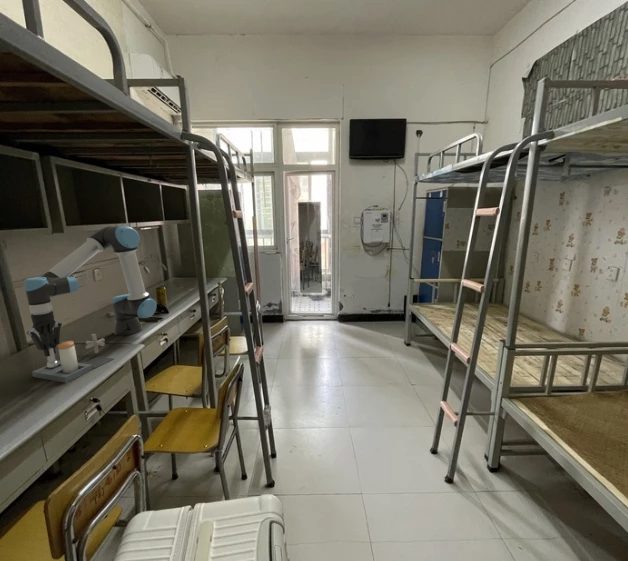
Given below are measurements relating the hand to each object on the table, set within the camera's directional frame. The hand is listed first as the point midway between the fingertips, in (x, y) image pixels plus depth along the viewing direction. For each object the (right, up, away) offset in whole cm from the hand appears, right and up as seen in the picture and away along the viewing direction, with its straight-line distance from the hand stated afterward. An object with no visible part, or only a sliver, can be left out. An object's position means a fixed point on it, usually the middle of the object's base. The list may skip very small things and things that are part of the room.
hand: (51, 361), depth 142 cm
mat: (+14, -3, +9) cm, 17 cm away
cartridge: (+11, -5, -2) cm, 12 cm away
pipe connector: (+6, -1, +21) cm, 22 cm away
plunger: (0, -4, +1) cm, 4 cm away
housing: (+6, -5, -1) cm, 8 cm away
